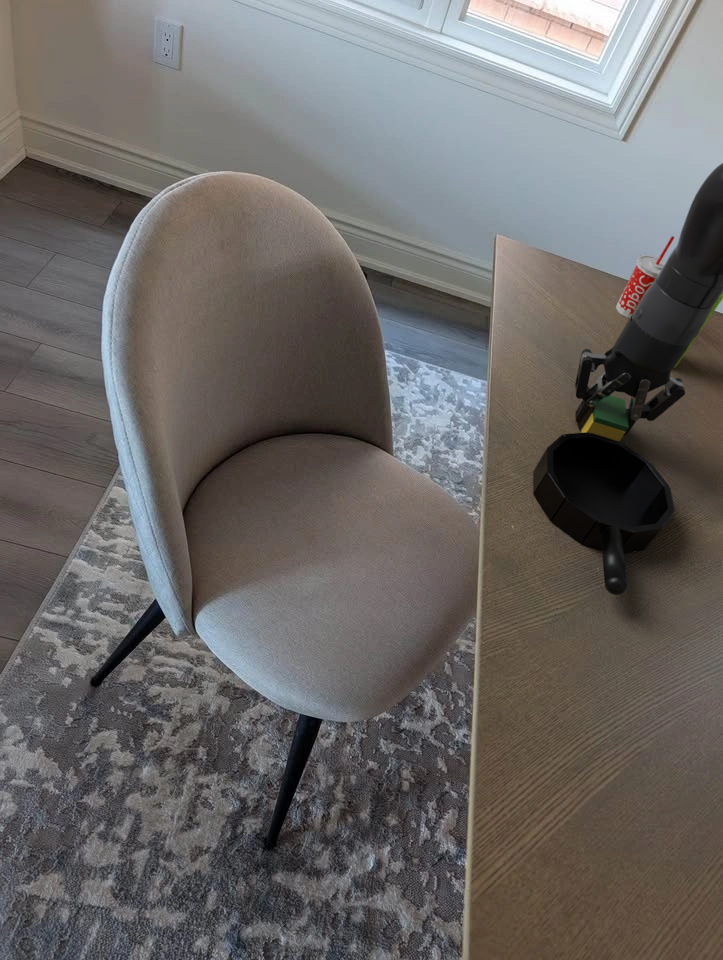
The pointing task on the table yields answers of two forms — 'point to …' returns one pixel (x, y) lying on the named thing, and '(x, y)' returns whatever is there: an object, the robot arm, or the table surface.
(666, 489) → the pan
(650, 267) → the beverage cup
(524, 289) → the table surface
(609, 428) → the sponge
